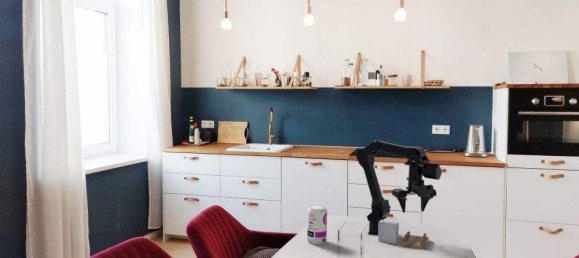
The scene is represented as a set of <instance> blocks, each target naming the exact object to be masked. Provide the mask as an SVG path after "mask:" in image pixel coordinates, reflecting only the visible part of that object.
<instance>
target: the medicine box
mask: <svg viewBox="0 0 579 258" xmlns="http://www.w3.org/2000/svg"><path fill="white" fill-rule="evenodd" d="M399 225H400V224H399V221H396V220H395V221H394V220H386V219H384V220H381V221H379V227H378V235H377V241H378V242H380V243H389V244H393V245H394V244H397V243H398V242H399V230H400V229H399V227H400V226H399Z"/></svg>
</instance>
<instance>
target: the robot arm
mask: <svg viewBox="0 0 579 258" xmlns="http://www.w3.org/2000/svg"><path fill="white" fill-rule="evenodd" d="M379 151H383V152H387V153H392V154H395V155H399V156H402V157H403V158H405V159H407V161H406V162H404V163H403V164H404V166H408V177H406V181H407V186H406V187H405V189H403V188H402V187H401V188H400V187H399V188H393V189H392V191H391V195H392V196H394V198H396V200H397V201H398V203H399V205H400V208H401V211H402V213H403V214H405V213H406V208H407V207H406V202H407V200H408V198H407V197H408V196H409V195H410V196H412V195H416V196H417V197H419V198H420V211H421V212H422V213H423V212H425V209H426V207H427V205H428V203H429V201H431V199H434V197H437V190H436V189H434V185H432V184H425V179H429V180H430V179H431V180H437V181H439V180H440V179H441V177H442V167H441V163H440V162H439V163H438V162H436V163H435V162H431V160H430V159H429V158H428V156H427V154H426V150H425V149H424V147H423V146H413V145H412V146H407V145H406V146H405V145H401V144H397V143H394V142H393V143H391V142H389V141H383V140H381V139H377V140H373V142H372V143H370V144H368V145H366V146H365V147H363V148H360V149H358V150H357V151H356V153H355V157H356V160H357V162H358V164H359V166H360V167H361V168H362V170H363V172H364V175H365V178H366V183H367V185H368V190H369V192H370V196H371V204H370V206H371V212H369V213H368V215H366V219H367V222H369V224H368V226H369V227H368V233H367V234H368V235H372V236H373V235H375V236H378V227H379V221H381V220H386V219H387V217H388V216H389V214H390V212H391V208H392V207H391V205H390V202H389V199H385V197H384V196H383V194H382V190H381V187H380V184H379V181H378V180H379V179H378V177H377V173H376V170H375V155H376V154H377V153H379ZM423 177H424V178H425V179H423Z"/></svg>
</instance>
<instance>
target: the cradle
mask: <svg viewBox="0 0 579 258" xmlns="http://www.w3.org/2000/svg"><path fill="white" fill-rule="evenodd" d="M429 241H430V240H429V236H427V233H423V235H422V236H421V235H414V234H411V231H408V230H407V232H406V233H405V234H404V235H403V238H402V240H401V242H400V247H404V248H411V249H412V248H413V249H420V250H426V249H427V246H428V244H429Z"/></svg>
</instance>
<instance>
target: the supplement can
mask: <svg viewBox="0 0 579 258" xmlns="http://www.w3.org/2000/svg"><path fill="white" fill-rule="evenodd" d="M306 231H307V233H306V235H307V236H306V237H307V238H306V240H307V242H308V243H309V244H311V245H323V244H325V243H326V242H327V241H328V239H327V238H328V237H327V235H328V234H327V233H328V210H327V208H326V206H325V205H324V206H323V205H316V204H315V205H310V206H309V207H308V209H307V230H306Z"/></svg>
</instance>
